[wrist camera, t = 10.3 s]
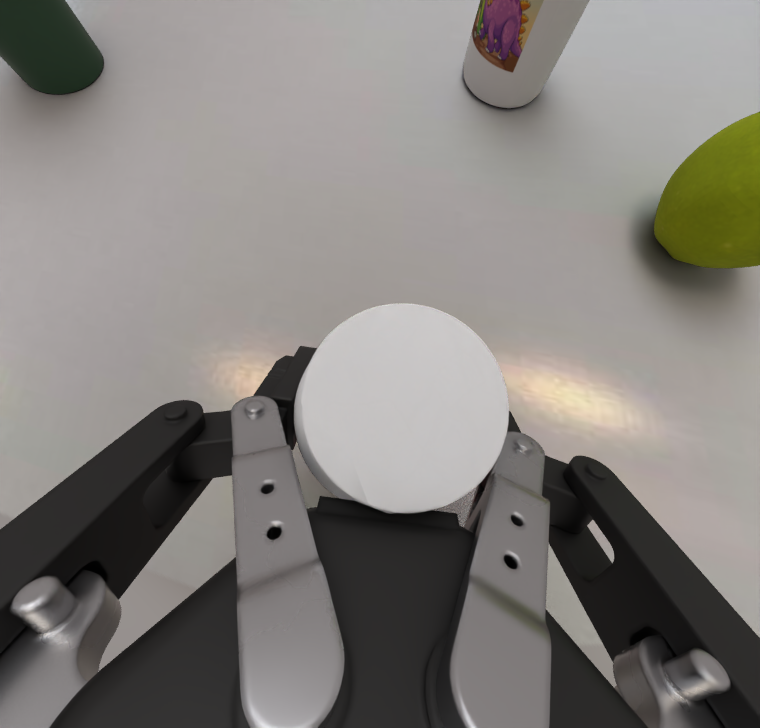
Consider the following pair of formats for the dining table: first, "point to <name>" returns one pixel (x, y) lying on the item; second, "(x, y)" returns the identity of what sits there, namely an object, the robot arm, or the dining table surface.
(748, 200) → the fruit
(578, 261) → the dining table surface
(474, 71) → the milk bottle
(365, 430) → the pill bottle
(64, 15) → the bottle
